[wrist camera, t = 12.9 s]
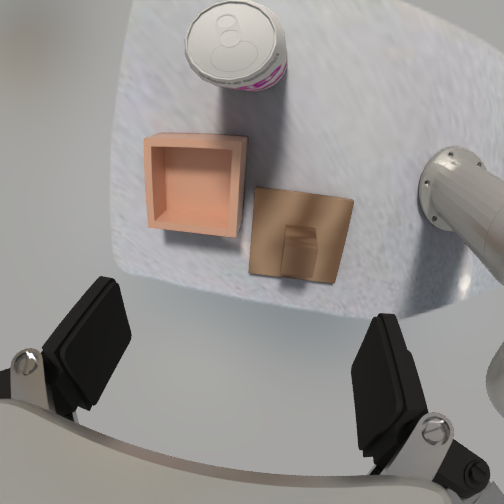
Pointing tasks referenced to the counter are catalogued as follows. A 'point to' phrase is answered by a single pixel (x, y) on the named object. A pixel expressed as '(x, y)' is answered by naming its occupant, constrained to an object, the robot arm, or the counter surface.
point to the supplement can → (237, 46)
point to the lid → (298, 234)
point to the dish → (195, 182)
